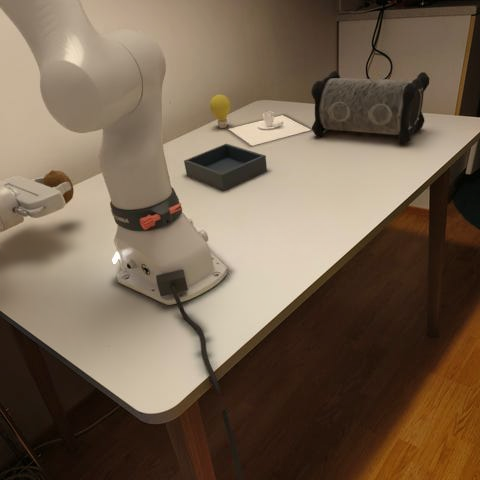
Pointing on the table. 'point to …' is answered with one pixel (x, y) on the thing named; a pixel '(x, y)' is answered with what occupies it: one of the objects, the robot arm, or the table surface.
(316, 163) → the table surface
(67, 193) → the fruit
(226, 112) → the light bulb
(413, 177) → the table surface
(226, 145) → the tub
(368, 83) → the speaker
